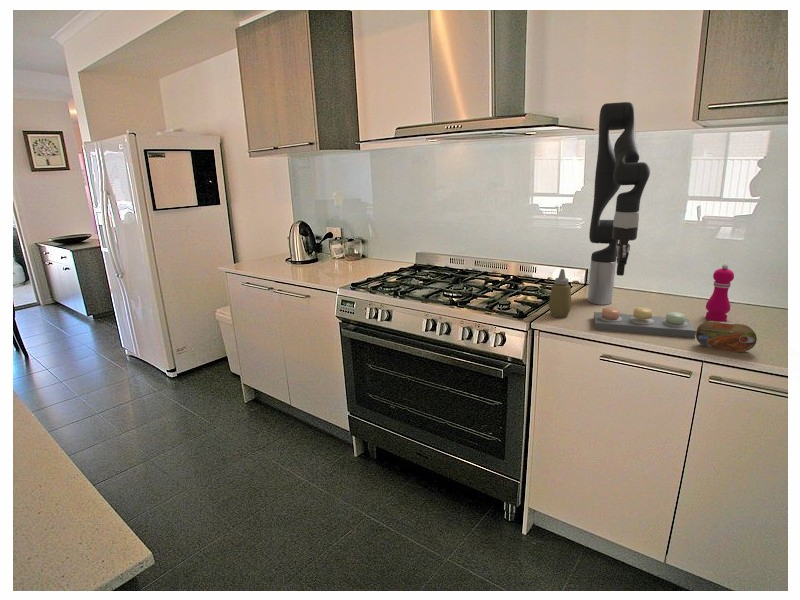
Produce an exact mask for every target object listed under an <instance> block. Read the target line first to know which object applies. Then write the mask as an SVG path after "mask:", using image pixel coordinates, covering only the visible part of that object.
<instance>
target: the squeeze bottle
mask: <svg viewBox="0 0 800 600" xmlns="http://www.w3.org/2000/svg"><path fill="white" fill-rule="evenodd" d="M571 288H572V287H571V285H570V284H569V278H566V272H565V269H564V268H561V269H560V270H559V274H558V277H556V278H555V279H554V283H553V284H552V286H551V291H550V296H549V303H548V307H549V312H550V316H551V317H553V318H558V319H559V318H560V319H564V318H567V317H568V316H569V313H570V311H571V310H572V290H571Z"/></svg>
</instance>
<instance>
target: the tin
mask: <svg viewBox="0 0 800 600" xmlns="http://www.w3.org/2000/svg"><path fill="white" fill-rule="evenodd" d="M695 338H696V341H697V342H698V343H699V344H700V345H701V346H702V347H704V348H707V349H712V350H713V349H714V350H722V351H729V352H736V353H745V352H748V351H750V350H752V349H753V348H754V347H755V345H756V344H757V341H758V339H757V334H756V332H755V330H753V329H752V328H751V326H748V325H746V324H744V323H737V322H736V323H734V322H727V321H722V322H718V321H712V320H707V321H704V322H702V323H701V324H699V325H698V326H697V329H696V334H695Z"/></svg>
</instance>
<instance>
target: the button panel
mask: <svg viewBox="0 0 800 600" xmlns="http://www.w3.org/2000/svg"><path fill="white" fill-rule="evenodd" d="M593 325H594V330H596V331H597V330H598V331H606V332H607V331H609V332H620V333H630V334H631V333H632V334H642V335H643V334H645V335H654V336H656V335H657V336H667V337H679V338H689V339H690V338H691V339H695V338H696V331H697V329H695V327H694V326H693V324H692V323H691V321H690V320H689V318H685V323H684V324H672V323H668V322H666V316H655V315H652V318H651V319H638V318H635V317H634V316H633V314H627V313H620V314H619V318H618V319H606V318H603V317H602V311H601V312H599V311H593Z"/></svg>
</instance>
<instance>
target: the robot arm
mask: <svg viewBox="0 0 800 600" xmlns="http://www.w3.org/2000/svg"><path fill="white" fill-rule="evenodd" d="M598 118H599V121H598V148H597V149H598V150H597V157H596V158H597V159H596V166H595V175H594V177H595V178H594V191H593V192H594V193H593V205H592V211H591V218H590V226H589V233H588V234H589V237H588V238H589V241H590V242H591V243H592V244H606V245H607V244H608V245H607V246H606V247H604V248H602V249H599V250H597V251H594V252H592V253H591V255H590V256H591V257H590V268H589V281H588V290H587V302H588V303H591V304H595V305H610V304H612V303H613V296H614V295H613V292H614V285H615V277H616V276H615V275H617V276H624V275H625V268H626V265H627V263H628V262H627V261H628V259H629V254H630V253H629V252H630V250H631V245H630V243H629V242H630V241H632V242H633V241H635V240H637V238H638V230H639V221H640V216H639V215H640V207H641V206H640V205H641V198H642V196H643V192H644V190H645V187H646V185H647V183H648V181H649V177H650V176H651V167H650V166H649V164H648V163H647V162H645V161H643V162H642V161H640V152H639V148H638V144H637V139H636V132H637V131H636V112H635V107H634V105H633V103H632V102H627V101H623V102H609V103H608V102H607V103H604V104H603V105H602V106H601V108H600V111H599V117H598ZM621 130H623V132H622V133H620V135H619V137H618V138H617V139H616V140H615V142H614V146H613V145H612V143H611V139H610V131H621ZM621 186H633V187H632V188H631V189H630V190H629V191H625V192H621V193H619V194H618V195H617V197H616V201H615V210H614V211H615V212H614V216H613V219H600V218H601V217H602V214H603V212H604V210H605V208H606V207H607V205H608V204H609V202H610V201H611V200H612V199H613V197H614V196H615V195H616V194H617V192H618V191H619V189H620V187H621ZM615 273H616V274H615Z"/></svg>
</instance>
